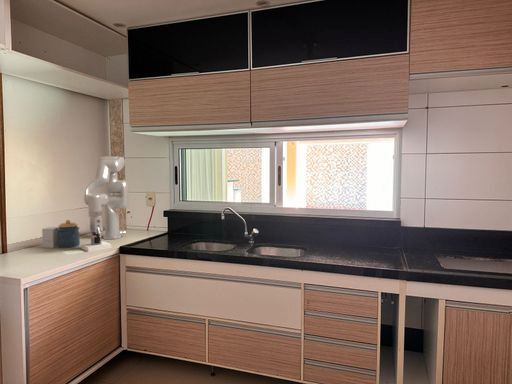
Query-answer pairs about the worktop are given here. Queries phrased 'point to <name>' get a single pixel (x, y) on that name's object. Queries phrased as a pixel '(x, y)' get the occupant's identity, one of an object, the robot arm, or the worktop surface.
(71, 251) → the mat
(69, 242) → the canister
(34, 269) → the worktop surface
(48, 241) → the supplement box
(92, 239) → the plug
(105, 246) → the white flat block
